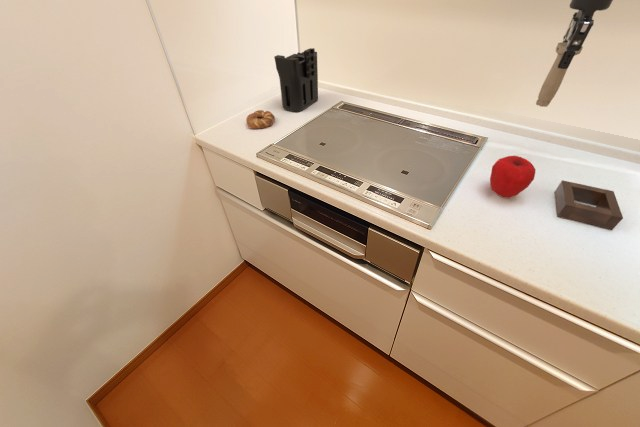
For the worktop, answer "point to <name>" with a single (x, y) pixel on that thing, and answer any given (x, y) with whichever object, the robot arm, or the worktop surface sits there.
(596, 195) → the socket block
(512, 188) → the apple
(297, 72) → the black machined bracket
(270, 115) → the brown bagel
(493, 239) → the worktop surface
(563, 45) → the handle
